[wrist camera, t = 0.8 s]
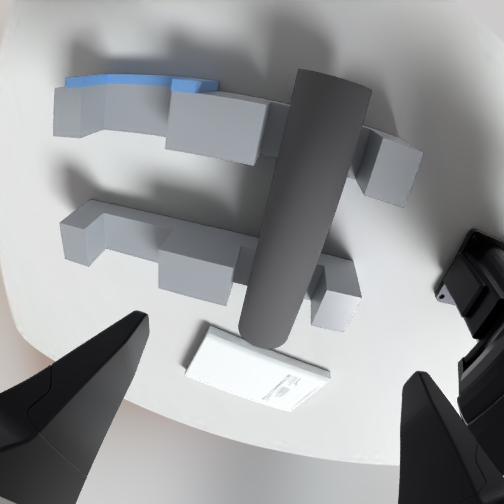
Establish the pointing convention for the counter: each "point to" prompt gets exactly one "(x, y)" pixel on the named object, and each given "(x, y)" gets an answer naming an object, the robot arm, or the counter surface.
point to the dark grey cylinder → (301, 201)
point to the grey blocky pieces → (217, 146)
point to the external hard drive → (254, 371)
